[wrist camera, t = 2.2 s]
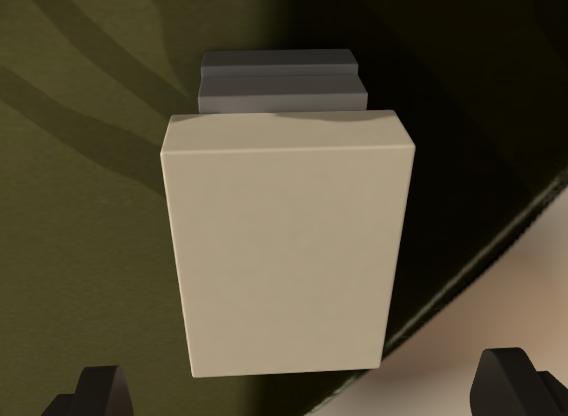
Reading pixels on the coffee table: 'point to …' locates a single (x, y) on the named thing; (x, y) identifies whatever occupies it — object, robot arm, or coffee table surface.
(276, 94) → the grey block
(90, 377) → the robot arm
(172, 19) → the coffee table surface
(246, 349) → the cream flat block
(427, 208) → the coffee table surface
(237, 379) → the coffee table surface
